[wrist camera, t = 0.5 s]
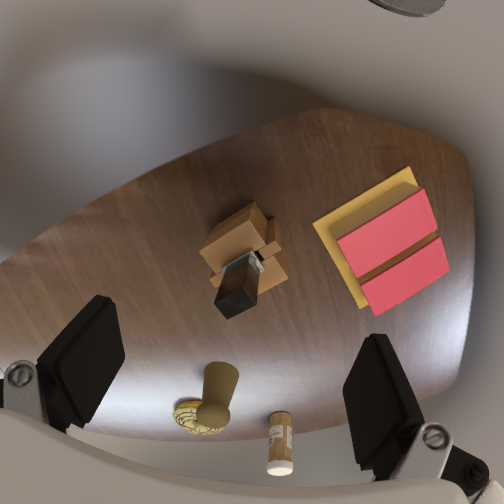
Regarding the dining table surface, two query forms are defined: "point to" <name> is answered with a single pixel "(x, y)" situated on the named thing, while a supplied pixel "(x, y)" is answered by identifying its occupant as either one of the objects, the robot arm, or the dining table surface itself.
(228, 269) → the knife
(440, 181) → the dining table surface
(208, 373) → the olive brown pawn
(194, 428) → the decorated donut
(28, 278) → the dining table surface
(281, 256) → the knife block
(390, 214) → the cake
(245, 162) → the dining table surface
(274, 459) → the sprinkles bottle
